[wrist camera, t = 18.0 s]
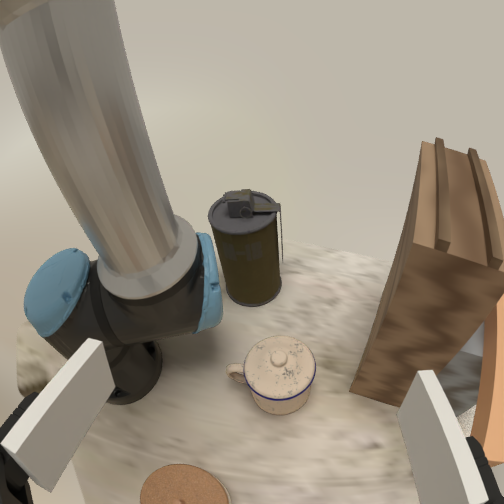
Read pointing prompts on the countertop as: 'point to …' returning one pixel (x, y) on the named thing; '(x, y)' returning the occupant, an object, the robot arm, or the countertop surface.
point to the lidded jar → (183, 487)
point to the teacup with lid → (277, 374)
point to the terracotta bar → (492, 389)
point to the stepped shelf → (439, 283)
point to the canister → (248, 245)
